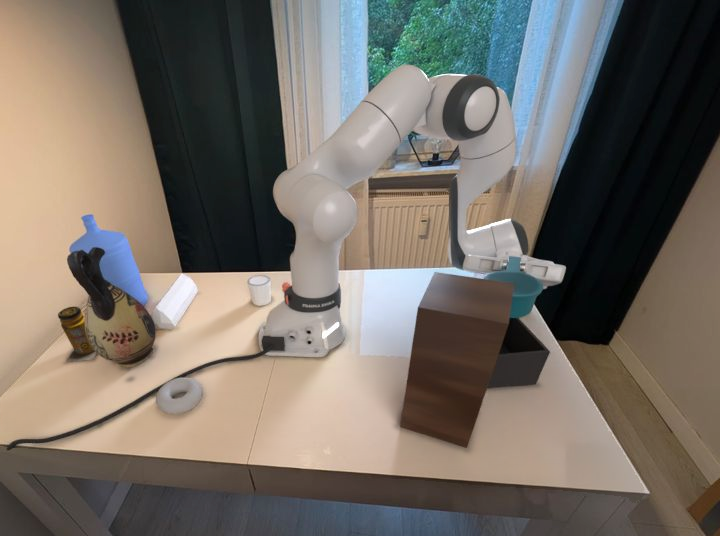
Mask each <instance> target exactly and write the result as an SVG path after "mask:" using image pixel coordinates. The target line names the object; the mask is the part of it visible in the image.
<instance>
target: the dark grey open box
mask: <svg viewBox="0 0 720 536" xmlns="http://www.w3.org/2000/svg"><path fill="white" fill-rule="evenodd" d="M550 353H551V350H550V349H548V347H547V346H546V345H545V344H544V342H542V341H541V340H540V339H539V338H538V336H537V335H535V333H534V332H532V331H531V330H530V328H529V327H528V326H527V325H526V324H525V323H524V321H522V320H521V319H520V317H519V318H509V324H508V327H507V330H506V333H505V336H504V339H503V342H502V345H501V348H500V351H499V354H498V357H497V360H496V363H495V366H494V369H493V372H492V375H491V378H490V381H489V384H488V387H487V390H488V389H501V388H510V387H511V388H512V387H524V386H535V385H537V383H538V381H539V379H540V376H541V374H542V371H543V369H544V367H545V365H546V363H547V360H548V358H549V356H550Z"/></svg>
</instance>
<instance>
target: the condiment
mask: <svg viewBox="0 0 720 536" xmlns="http://www.w3.org/2000/svg"><path fill="white" fill-rule="evenodd" d="M57 317H58V319H59V321H60V325H61V328H62V330H63V332H64V334H65V335H66V338H67V339H68V342H69V343H70V345H71V346H72V347H71V348H72V349H73V350H72V351H71V352H70V354H69V355H68V357H67V358H66V359H65V362H79V361H81V362H83V361H89V360H94V359H95V357H96V356H97V355H98V354H97V353H96V352H95V351H94V350H93V348H92V347H91V345H90V343H89V341H88V338H87V335H86V331H85V324H84V319H85V314H84V313H83V312H82V310H81V308H80V307H79V306H68V307H65V308H63V309H62V310H61V311H59V312H58V314H57Z"/></svg>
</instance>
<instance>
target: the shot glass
mask: <svg viewBox="0 0 720 536" xmlns="http://www.w3.org/2000/svg"><path fill="white" fill-rule="evenodd" d="M246 282H247V283H246V284H247V287H248V291H249V294H250V297H251V301H252V304H253V305H255V306H258V307H259V306H260V307H261V306H265V305H268V304H270V303H271V301H272V289H271V288H272V286H271V285H272V284H271V277H270V276H268V275H266V274H257V275H253V276H251V277H249V278H248V279H247V281H246Z"/></svg>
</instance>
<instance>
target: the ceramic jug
mask: <svg viewBox="0 0 720 536" xmlns="http://www.w3.org/2000/svg"><path fill="white" fill-rule="evenodd" d="M104 254H105V251H104V249H102V248H98V247H93V248H92V249H91V250H90V251H89V253H86V252H85V251H83V250H80V251H74V252H72V253H70V254H68V255H67V258H66V261H67V265H68V269H69V270H70V272H71V275H72V276H73V278H74V279H75V281H76V282H78V284H79V286H81V288H82V289H83V290H84V291H85V292H86V293H87V295H88V297H87V300H86V306H85V312H84V316H85V319H84V324H85V331H86V335H87V338H88V341H89V343H90V345H91V347H92V348H93V350H94V351H95V352H96V353H97V354H96V355H98V356H100V357H101V358H103V359H105V360H106V361H111V362H113V363H116V364H118V365H119V366H121V367H123V368H125V369H126V368H127V369H128V368H129V369H131V368H132V367H135V366H138V365H140V364H142V363H144V362H146V361H147V360H148V359H150V358H151V356H152V355H153V352H154V348H153V346H154V344H155V340H156V336H157V332H156V331H157V329H156V328H155V324H154V321H153V319H152V317H151V313H150V312H149V311H148V309H146V307H145V305H144V306H143V305H142V304H141V303H140V302H139V301H138V300H136V299H135V298H134V297H132V296H131V295H129V294H128V293H126V292H125V291H123V290H122V289H120V288H118V287H116V286H114V285H112V284H111V283H110V282H108V281H107V280H105V279H104V278H103V276H102V273H101V270H100V265H99V264H100V260H101V258H102V257H103V255H104ZM81 264H82V265H81ZM82 267H83V268H82Z"/></svg>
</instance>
